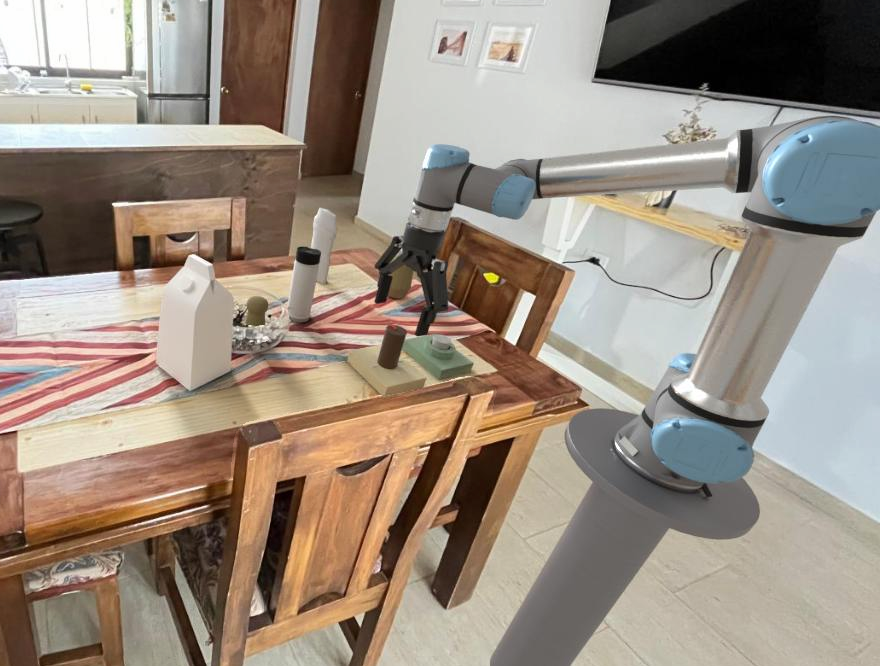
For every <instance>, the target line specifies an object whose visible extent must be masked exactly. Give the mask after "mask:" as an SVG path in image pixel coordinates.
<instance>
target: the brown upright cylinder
mask: <svg viewBox="0 0 880 666" xmlns="http://www.w3.org/2000/svg"><path fill="white" fill-rule="evenodd" d="M407 334H408V333H407V329H406V328H404V327H403V326H400V325H397V324H393V323H389V324H388V325H386V328H385V331H384V334H383V338H382V342H381V344H382V345H381V344H380V345H381V349H380V353H379V356H378V360H377V362H378V364H379V365H380V366H381V367H383V368H386V369H395V368H396V367H397V364H398V361H399V357H400V355H401V353H402V350H403V349H402V347H403V344H404V340H405V339H406V337H407Z"/></svg>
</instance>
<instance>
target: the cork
mask: <svg viewBox="0 0 880 666" xmlns="http://www.w3.org/2000/svg"><path fill="white" fill-rule="evenodd" d="M268 309H269V301H268V300H267V298H265V297H263V296H261V295H252V296H250V297H249V298H248V299H247V300H246V310H247V312H246V316H245V320H244V323H246V324H247V325H254V326H259V325H265V326H266V313H267V311H268Z"/></svg>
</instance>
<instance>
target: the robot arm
mask: <svg viewBox="0 0 880 666" xmlns="http://www.w3.org/2000/svg"><path fill="white" fill-rule="evenodd" d="M470 155H471V154H470V151H469V150H468V149H466V148H464V147H463V148H462V147H460V146H456V145H452V144H446V143H445V144H442V143H437V144H433V145H431V146H430V147H428V149H427V150H426V154H425V157H424V159H423V162H422V166H421V167H420V172H419V177H418V180H417V184H416V189H415V192H414V196H413V200H412V203H411V206H410V210H409V214H408V217H407V221H408V222H407V223H406V224H405V229H404V231H403V235H396V236H395V235H394V236H393V237H392V239H391V242H390V245H389V246H388V247H387V248H386V249H385V251H384V252H383V253H382V255H381V256H380V258H379V259H378V260H377V261H376V263H375V264H374V269H375V270H377V271H378V274H379V277H378V280H377V284H376V285H377V290H376V294H375V298H374V301H373V302H374V303H375V304H378V305H379V304H383V303H384V304H385V303H387V300H388V297H389V296H388V293H389V289H390V286H391V282H392V278H393V277H392V276H391V275H390V276H389V274H393V272H394V271H396V270H397V269H399V268H400V267H402V266H403V265H405V264H406V266H407V267H410V268H411V269H412V270H413V272H415V273H416V276H417V277H418V278H419V281H420V284H421V289H422V293H423V297H424V302H425V305H426V306H423V307H422V309H421V313H420V316H419V319H418V321H417V325H416V329H415V332H414V335H415V336H416V337H421V336H426V335H428V334H429V330H430V327H431V325H432V324H434V323H435V320H436V318H437V314H438V313H442V312H446V311H448V310H449V299H448V297H449V296H448V281H447V279H448V278H447V271H448V267H449V262H448V260H440V259H438V258H437V253H438V251H439V250H440V249H441V248H442V245H443V242H444V239H445V235H446V231H445V230H447V228H448V226H449V223H450V219H451V216H452V214H453V210H454V206H455V204H457V205H460V206H463V207H466V208H470V209H473V210H476V211H481V212H483V213H487V214H489V215H490V214H491V215H493V216H495V217H497V218H505V219H510V220H513V221H514V220H515V221H516V220H520V219H521V218H523V217H524V215H525V213H527V211H528V209H529V207H530V205H531V203H532V200H541V199H551V198H552V199H553V198H556V199H557V198H569V197H570V198H571V197H586V196H587V197H588V196H589V197H590V196H603V195H604V196H605V195H619V194H620V195H621V194H637V193H638V194H639V193H653V192H668V191H669V192H670V191H685V190H686V191H688V190H703V189H704V190H705V189H719V188H722V189H725V190H727V191H728V192H730V193H731V194H745V193H750V194H749V197H748V199H747V201H746V204H745V206H744V208H743V210H742V213H741V216H740V219H741V220H742V222H743V223H744V224H745V226H746V227H747V228H748V231H749V232H748V235H747V237H746V239H745V242H744V243H743V247H742V248H741V250H740V254H739V256H738V258H737V260H736V262H735V265H734V267H733V269H732V271H731V274H730V276H729V277H728V280H727V282H726V285H725V288H724V290H723V292H722V294H721V297H720V299H719V301H718V303H717V306H716V308H715V311H714V312H713V314H712V317H711V319H710V322H709V324H708V326H707V329H706V330H705V333H704V336H703V338H702V340H701V343H700V345H699V347H698V350H697V351H696V353H692V352H683V353H679V354H677V355H676V356H675V357H674V358H673V359H672V361H671V362H670V363H668V364H667V366H668V367H667V369H666V371H665V372H664V373H663V376H662V378H661V379H660V380H659V382H658V384H657V386H656V388H655V389H654V391H653V393H652V394H651V396H650V398H649V400H647V403H646V404H645V406H644V408H643V410H642V411H641V412H640V414H638V415H639V416H638V417H636V418H635V419H633V420H632V421H631V422H629V423H628V424H626V425H625V426H624V427H622V428H621V429H620V430H618V431H617V433H616V434H615V436H614V438H613V439H612V447H613V450H614V452H615V453H616V455H617V456H618V457H619V459H620V460H621V461H622V462H623V463H624V464H625V465H626V466H628V467H629V468H630V469H631V470H633V471H634V472H635V473H637V474H638V475H640V476H641V477H643V478H645V479H646V480H648V481H650V482H652V483H654V484H656V485H659V486H661V487H664V488H666V489H669V490H673V491H676V492H681V493H698V492H701V491H702V490H703V492H704V493H705V495H706V497H712V494H711V492H710V490H709V488H708V486H707V484H708V483H712V484H717V483H723V482H732V481H735V480H738V479H740V478H744V477H745V476H746V475H748V473H749V472H750V470H751V469H752V466H753V465H754V464H753V463H754V461H755V451H754V449H753V447H754V443H755V442H756V440H757V437H758V436H759V433H760V432H761V430H762V428H763V426H764V424H765V422H766V420H767V418H768V416H769V414H770V409H769V406H768V405H767V404H766V402H765V401H764V400H763V398H762V396H763V394H764V392H765V391H766V388H767V387H768V385H769V382H770V381H771V379H772V377H773V375H774V373H775V371H776V369H777V367H778V365H779V364H780V361H781V359H782V357H783V356H784V353H785V352H786V349H787V348H788V346H789V344H790V342H791V340H792V338H793V336H794V334H795V332H796V330H797V328H798V327H799V326H800V325H799V324H800V322H801V321H802V319H803V317H804V315H805V312H806V311H807V309H808V307H809V306H810V303H811V301H812V299H813V297H814V295H815V293H816V292H817V290H818V287H819V285H820V283H821V282H822V280H823V278H824V276H825V274H826V273H827V270H828V269H829V266H830V265H831V263H832V260H833V259H834V256H835V254H836V253H837V251H838V249H839V248H840V247H842V246H844V245H847V244H849V243H852V242H855V241H858V240H861V239H862V238H864V236H865V234H866V232H867V230H868V229H869V226H870V225H871V224H872V221H873V219H874V217H875V216H876V214H877V212H879V211H880V125H877V124H875V123H873V122H870V121H862V120H858V119H854V118H851V117H848V116H842V115H841V116H840V115H819V116H814V117H813V116H812V117H808V118H801V119H797V120H793V121H789V122H784V123H779V124H772V125H767V126H762V127H761V126H760V127H754V128H747V129H738V130H736V131H734V132H733V133H731V134H730V135H729V136H728V137H725V138H717V139H707V140H699V141H690V142H679V143H670V144H662V145H653V146H643V147H633V148H624V149H616V150H615V149H614V150H607V151H598V152H588V153H579V154H568V155H560V156H551V157H544V158H533V159H527V158H526V159H524V158H518V159H517V158H515V159H512V160H509V161H507V162H503V164H501V165H500V166H498V167H495V168H492V167H486V166H483V165H478V164H474V163H473V162H470ZM401 249H402V251H403V253H402V254H401V255H399V256H398V257H397V258H396V259H395V260H394V261H392V260H393V259H394V257H395V256H396V255H397V254H398V252H399V251H400V250H401ZM391 261H392V262H391ZM390 262H391V263H390ZM426 270H427V271H426Z"/></svg>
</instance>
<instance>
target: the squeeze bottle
mask: <svg viewBox="0 0 880 666" xmlns="http://www.w3.org/2000/svg"><path fill="white" fill-rule="evenodd" d="M402 253H403V251H402V249H401V250H400V251H399V252H398V254H397V255H396V256H395V257H394V259H393V260H392V261H394V260H395V259H396V258H397V257H398V256H399V255H401V254H402ZM392 261H391V262H392ZM391 262H390V263H391ZM390 275H391V276H392V277H393V278H392V282H391V286H390V289H389V293H388V297H389V298H392V299H397V300H399V299H404V297H406V296H407V294H408V292H410V289H411V288H412V282H413V278H414V277H413V276H414V271H413V270H412V269H411V268H410V267H407V266H406V264H405V265H403V266H402V267H400V268H399V269H397V270H396V271H394V272H393V274H389V276H390Z"/></svg>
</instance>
